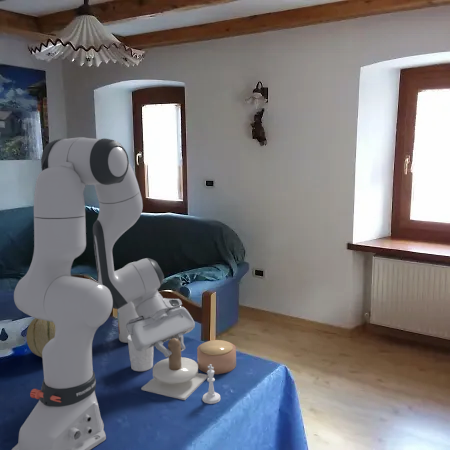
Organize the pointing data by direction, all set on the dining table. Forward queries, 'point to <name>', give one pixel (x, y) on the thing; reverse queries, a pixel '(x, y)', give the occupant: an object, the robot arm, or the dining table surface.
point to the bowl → (216, 356)
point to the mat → (175, 387)
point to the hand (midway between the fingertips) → (176, 353)
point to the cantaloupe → (39, 335)
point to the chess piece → (211, 389)
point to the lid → (175, 366)
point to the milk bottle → (125, 320)
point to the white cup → (140, 357)
